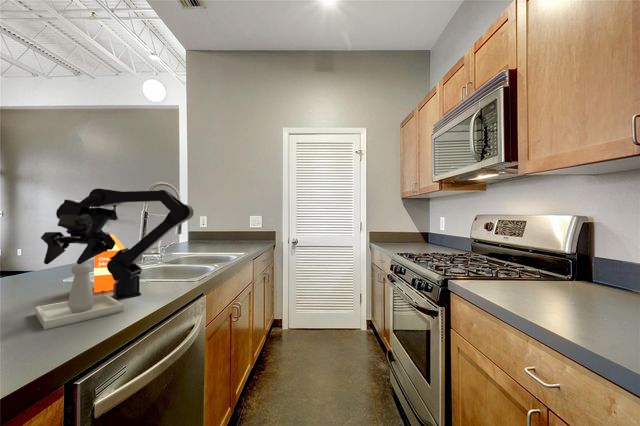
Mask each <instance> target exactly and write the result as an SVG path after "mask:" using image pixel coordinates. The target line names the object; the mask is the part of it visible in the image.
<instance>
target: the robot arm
mask: <svg viewBox="0 0 640 426" xmlns="http://www.w3.org/2000/svg"><path fill="white" fill-rule="evenodd" d="M151 202H152V203H153V202H159V203H162V204H163V206H164V207H165V208H167V209H168V210H169V212H168V213H167V215H166V217H165V218H164V220H163V221H162V222H160V223H159V224H158V225H157V226H156V227H154V228H153V229H152V230H151V231H150V232H149V233H147V235H145V236H143V238H141V239H140V240H138V242H137V243H135V244H134V245H133V246H132V247H131V248H128V247H125V249H121V250H119V251H118V252H117V253H116V254H115V255H114V256H113V257H111V258H109V259H111V260H110V261H109V262H108V263H107V269H108V271H109V273H111V274H112V277H113V279H114V280H115V283H114V284H113V291H112V295H113V297H114V298H117V299H118V300H121V299H127V298H132V297H137V296H141V295H142V292H140V280H141V279H140V275H141V274H142V271H143V268H141V267H140V265H138V262H139V261H140V259H141V257H142V256H143V255H144V254H146V253H147V252H148V251H149V250H150V249H151V248H153V246H155V244H157V243H158V242H159V241H161V240H162V239H163V238H164V237H165V236H166V235H167V234H169V232H171V231H172V230H173V229H175V228H176V227H178V226H180V225H182V224H183V223H186V222H187V221H189V220H190V219H191V218H193V216H194V209H193V207H192V206H191V205H189V204H184V203H183V201H181V200H180V199H178V198H177V197H176V196H174V195H173V194H172V193H171V192H170V191H168V190H165V189H159V190H134V191H133V190H132V191H131V190H130V191H128V190H127V191H126V190H125V191H120V190H114V189H106V188H99V187H98V188H93V189H92V190H91V191H90V192H89V194H88V196H86V197H84V198H83V199H82V200H81V201H75V200H72V199H64V200H63V203H61V204H60V205H59V207H58V208H57V209H56V215H55V216H56V218H57V219H58V222H57V227H61V228H64V229H65V232H66V233H67V234H69V235H64V234H63V233H62V232H61V231H46V232H44V233H43V234H42V235H41V237H40V239H41V240H42V241H43V242H44V243H45V244H46V245H47V248H46V249H47V250H46V252H45V255H44V260H43V264H45V265H49V264H50V263H52V262H53V261H54V260H56V259H57V258H58V257H59V256H61V255H62V254H64V253H65V252H66V249H67V248H69V246H70V244H79V245H86V247H85V248H84V250H83V251H82V253H81V254H80V255H79V257H78V258H77V261H76V265H78V264H84V263H85V262H88V261H89V260H91V259H92V258H94V256H96V255H98V254H100V253H102V252H106V251H107V250H112V249H113V247H114V246H115V241H114V239H113V238H112V237H111V236H110V235H111V234H110V233H109V231H103V228H104V227H105V226H106V224H107V223H108V221H109V220H111V219H112V220H118V215H117V212H116V210H115V208H112V209H108V208H105V207H112V206H117V205H118V206H119V205H122V204H127V203H151ZM102 207H103V208H102Z"/></svg>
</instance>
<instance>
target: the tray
mask: <svg viewBox="0 0 640 426" xmlns="http://www.w3.org/2000/svg"><path fill="white" fill-rule="evenodd" d="M94 299H95V301H94V304H93V306H92V308H91V309H90V310H88V311H85V312H81V313H72V312H71V310H70V308H69V307H68V305H67V303H68V300H66V301H61V302H57V303H51V304H46V305H45V304H44V305H39V306H35V316H36V318H37V319H38V322H39V323H40V325H41V326H42V328H43V330H48V329H49V330H50V329H53V328H58V327H61V326H66V325H69V324H74V323H78V322H83V321H87V320H92V319H98V318H100V317H101V318H102V317H105V316H110V315H114V314H118V313H122V312H124V304H123V303H121V302H120V301H118V300H116V299H115V297H112V296H110V295H109V294H107V293H106V294H100V295H94Z"/></svg>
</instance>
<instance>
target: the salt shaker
mask: <svg viewBox="0 0 640 426" xmlns="http://www.w3.org/2000/svg"><path fill="white" fill-rule="evenodd" d="M92 270H93V267H92V265H91V264H90V263H82V264H75V265H73V266H72V267H71V273H72V274H73V275H74V277H73V280H72V285H71V287H70V293H69V296H68V300H67V301H68V303H67V305H68V307H69V308H70V310H71V312H72V313H81V312H85V311H88V310H90V309H91V308H92V306H93V304H94V301H95V299H94V296H95V295H94V294H95V293H94V288H93V285H92V280H91V276H90V272H92Z"/></svg>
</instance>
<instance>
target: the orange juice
mask: <svg viewBox="0 0 640 426" xmlns="http://www.w3.org/2000/svg"><path fill="white" fill-rule="evenodd" d="M110 236H111V237H112V238H113V239H114V241H115V246H114V247H113V249H112V250H107V251H106V252H102V253H100V254H98V255H96V256H94V257H93V258H94V261H93V262H94V263H93V264H94V265H93V293H102V292H101V291H105V292H111V291H110V290H113V284H114V283H115V280H114V279H113V277H112V274H111V273H109V271H108V269H107V263H108V262H109V261H110V260H111V259H109V258H111V257H113V256H114V255H115V254H116V253H117V252H118V251H119V250H121V249H125V248H126V247H125V246H124V245H123V243H121V241H119V239H118V238H117V237H116V236H115V234H110Z"/></svg>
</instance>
